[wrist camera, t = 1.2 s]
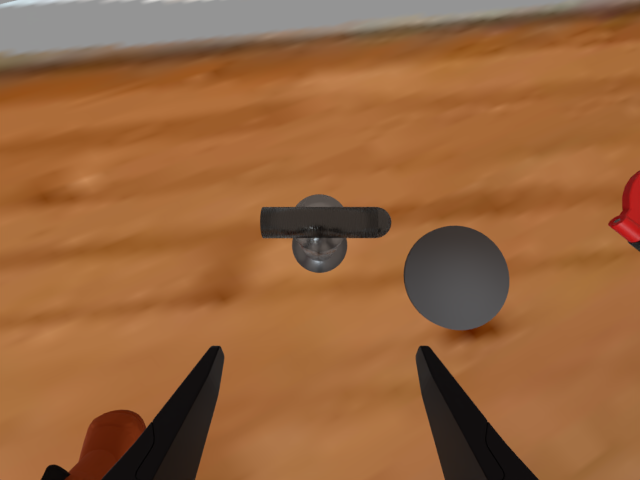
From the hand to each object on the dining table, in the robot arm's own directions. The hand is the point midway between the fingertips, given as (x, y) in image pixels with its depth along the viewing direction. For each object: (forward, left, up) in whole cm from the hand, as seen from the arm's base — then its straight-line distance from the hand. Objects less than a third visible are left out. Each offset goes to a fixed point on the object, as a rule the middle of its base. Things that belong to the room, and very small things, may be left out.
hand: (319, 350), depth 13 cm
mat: (-6, -11, -12) cm, 17 cm away
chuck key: (+4, -4, -12) cm, 13 cm away
